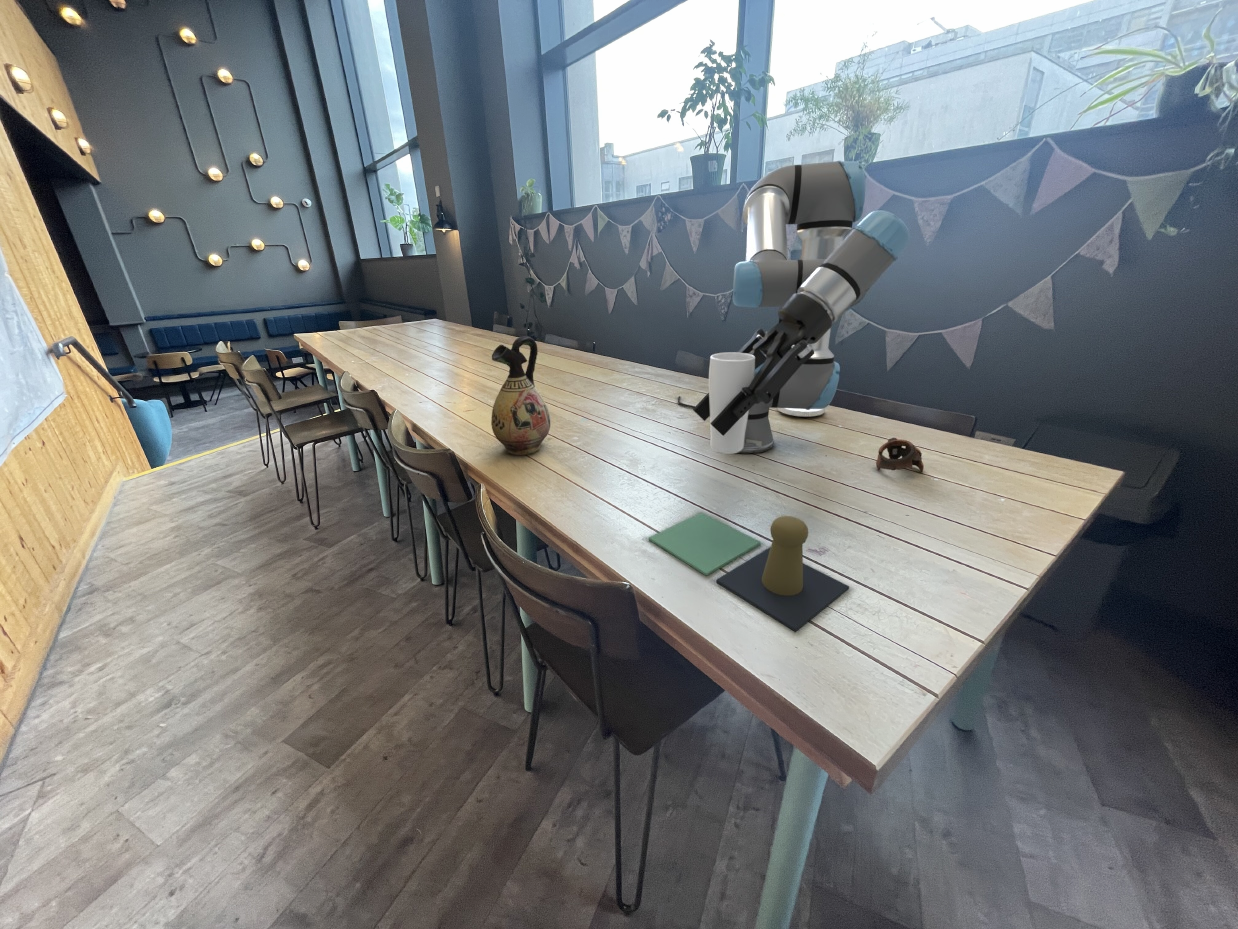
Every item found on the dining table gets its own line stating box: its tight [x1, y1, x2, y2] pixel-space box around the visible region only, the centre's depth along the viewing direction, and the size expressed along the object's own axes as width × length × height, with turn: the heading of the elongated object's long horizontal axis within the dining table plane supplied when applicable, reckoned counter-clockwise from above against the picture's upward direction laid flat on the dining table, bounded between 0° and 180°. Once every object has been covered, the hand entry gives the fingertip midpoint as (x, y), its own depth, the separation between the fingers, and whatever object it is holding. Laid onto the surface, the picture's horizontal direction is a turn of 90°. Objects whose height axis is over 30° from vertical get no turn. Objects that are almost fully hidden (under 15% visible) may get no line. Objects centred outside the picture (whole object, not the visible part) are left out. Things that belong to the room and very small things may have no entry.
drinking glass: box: [708, 351, 755, 455], centre depth 73 cm, size 7×7×15 cm
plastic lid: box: [777, 408, 826, 417], centre depth 150 cm, size 14×14×2 cm
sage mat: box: [648, 512, 762, 577], centre depth 84 cm, size 14×14×1 cm
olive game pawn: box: [762, 515, 809, 596], centre depth 70 cm, size 6×6×11 cm
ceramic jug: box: [490, 335, 551, 456], centre depth 123 cm, size 17×15×30 cm
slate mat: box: [715, 546, 850, 632], centre depth 72 cm, size 14×14×1 cm
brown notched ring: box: [875, 437, 925, 473], centre depth 109 cm, size 12×10×8 cm
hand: (707, 422), depth 74 cm, fingers closed on drinking glass, 7 cm apart
